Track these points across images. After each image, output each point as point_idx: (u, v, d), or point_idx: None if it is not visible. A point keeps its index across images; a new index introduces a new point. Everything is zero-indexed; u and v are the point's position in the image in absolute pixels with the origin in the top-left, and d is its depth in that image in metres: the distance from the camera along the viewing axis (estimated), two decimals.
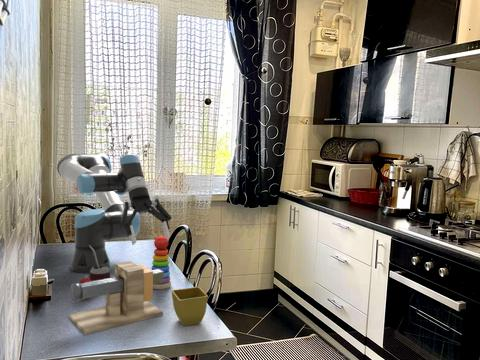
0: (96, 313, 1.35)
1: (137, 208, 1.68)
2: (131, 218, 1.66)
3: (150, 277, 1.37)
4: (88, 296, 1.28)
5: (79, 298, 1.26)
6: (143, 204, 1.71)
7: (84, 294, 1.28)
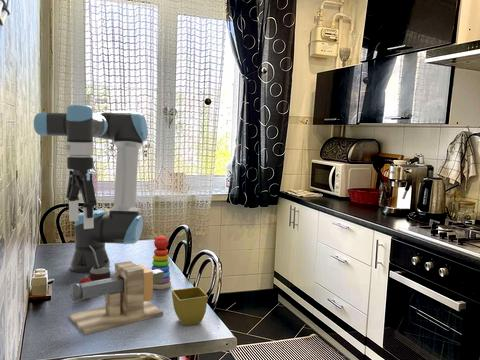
0: (96, 313, 1.35)
1: (71, 182, 1.39)
2: (70, 192, 1.42)
3: (150, 277, 1.37)
4: (88, 296, 1.28)
5: (79, 298, 1.26)
6: None
7: (84, 294, 1.28)
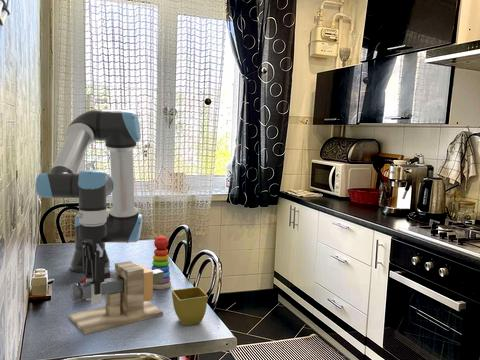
0: (96, 313, 1.35)
1: (85, 253, 1.30)
2: (86, 267, 1.31)
3: (150, 277, 1.37)
4: (88, 296, 1.28)
5: (79, 298, 1.26)
6: (89, 245, 1.29)
7: (84, 294, 1.28)
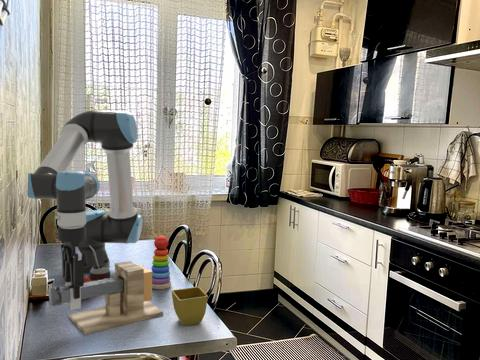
0: (96, 313, 1.35)
1: (64, 256, 1.26)
2: (65, 271, 1.28)
3: (149, 277, 1.37)
4: (67, 300, 1.25)
5: (58, 302, 1.23)
6: (68, 247, 1.25)
7: (63, 298, 1.24)
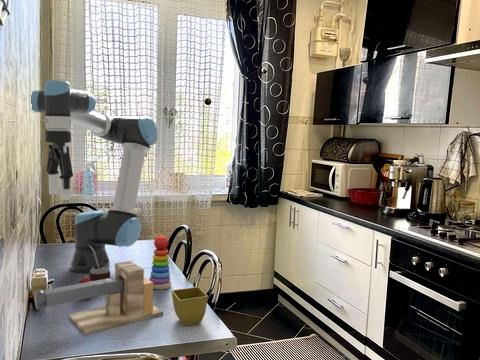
0: (96, 313, 1.35)
1: (50, 156, 1.43)
2: (49, 166, 1.47)
3: (150, 288, 1.37)
4: (53, 303, 1.22)
5: (43, 306, 1.20)
6: None
7: (48, 301, 1.22)
